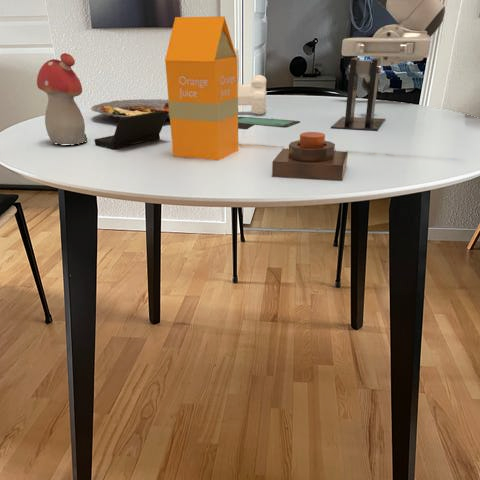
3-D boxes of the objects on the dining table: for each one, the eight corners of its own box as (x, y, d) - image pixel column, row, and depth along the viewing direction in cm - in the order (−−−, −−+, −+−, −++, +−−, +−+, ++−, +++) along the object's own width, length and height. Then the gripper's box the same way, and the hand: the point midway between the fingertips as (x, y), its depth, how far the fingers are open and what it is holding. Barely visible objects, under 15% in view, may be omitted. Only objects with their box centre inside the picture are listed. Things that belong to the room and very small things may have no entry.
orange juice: (195, 146, 90) (187, 17, 79) (239, 150, 87) (237, 16, 76) (172, 156, 84) (160, 17, 73) (218, 161, 81) (213, 16, 70)
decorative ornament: (97, 144, 93) (82, 52, 85) (63, 149, 89) (45, 55, 81) (74, 136, 99) (59, 50, 91) (42, 141, 95) (23, 52, 87)
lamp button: (325, 144, 74) (326, 132, 73) (322, 150, 71) (323, 137, 70) (301, 143, 74) (302, 131, 73) (297, 149, 71) (298, 136, 70)
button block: (346, 167, 76) (349, 139, 74) (341, 181, 70) (344, 152, 68) (282, 163, 79) (283, 137, 77) (272, 177, 72) (272, 148, 70)
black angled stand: (130, 125, 99) (145, 84, 91) (156, 150, 99) (174, 111, 91) (88, 145, 92) (101, 102, 84) (117, 172, 92) (132, 132, 84)
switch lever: (361, 93, 108) (364, 75, 107) (378, 93, 107) (381, 75, 106) (352, 77, 95) (355, 56, 94) (372, 77, 94) (375, 56, 93)
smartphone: (239, 115, 110) (301, 120, 104) (239, 121, 111) (301, 126, 104) (221, 120, 105) (285, 126, 98) (222, 127, 105) (285, 132, 99)
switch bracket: (342, 122, 107) (347, 56, 101) (384, 125, 104) (393, 56, 98) (330, 133, 98) (335, 60, 91) (376, 136, 95) (386, 61, 88)
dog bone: (266, 110, 123) (267, 73, 118) (265, 116, 115) (265, 77, 111) (206, 110, 124) (204, 74, 119) (201, 116, 116) (199, 78, 112)
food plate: (220, 115, 117) (219, 99, 116) (143, 131, 103) (141, 112, 101) (151, 105, 132) (150, 91, 130) (75, 118, 117) (72, 101, 115)
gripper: (348, 31, 125) (337, 33, 114) (434, 30, 119) (431, 32, 108) (345, 59, 128) (334, 63, 117) (429, 60, 122) (425, 65, 111)
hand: (381, 48), depth 112 cm, fingers open, 8 cm apart
